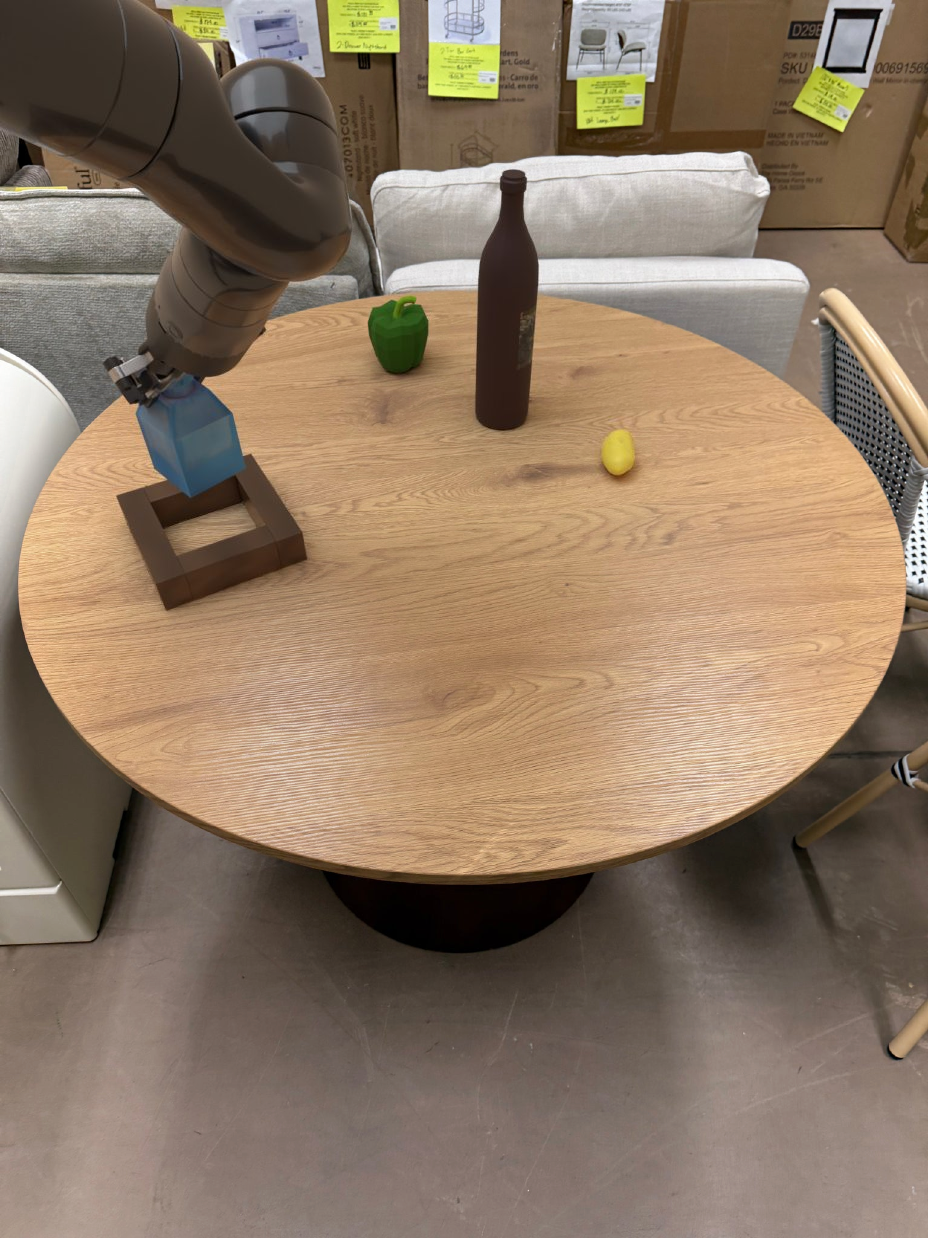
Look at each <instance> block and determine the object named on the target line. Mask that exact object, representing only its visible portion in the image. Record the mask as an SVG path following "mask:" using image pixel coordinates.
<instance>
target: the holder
mask: <svg viewBox="0 0 928 1238" xmlns="http://www.w3.org/2000/svg"><path fill="white" fill-rule="evenodd" d="M243 458H244V462H245V467H246V469H244V470H242V471H240V472H238V473H237V474H235V475H233V476H231V477H229V478H227V479H225V480H223V481H222V482H220V483H218V484H216V485H214V486H212V487H210V488H208V489H207V490H205V491H203V492H201V493H199V494H197V495H195V496H193V497H192V498H190V497H189V496H188V495H186V494H185V493H184V492H183V491H181V490H180V489H179V488H178V487H176V486H175V485H174V484H173V483H171V482H170V481H169V480H168V479H164V480H162V481H159V482H155V483H153V484H149V485H146V486H142V487H139V488H136V489H132V490H129V491H126V492H122V493H120V494H116V495H115V497H116V500H117V502H118V504H119V507H120V510H121V513H122V515H123V518H124V520H125V522H126V525H127V528H128V529H129V532H130V534H131V537H132V538H133V540H134V542H135V545H136V547H137V549H138V551H139V554H140V556H141V558H142V560H143V563H144V565H145V567H146V569H147V571H148V574H149V576H150V578H151V580H152V583H153V585H154V588H155V590H156V592H157V594H158V597H159V598H160V601H161V603H162V605H163V608H164V610H165V611H168V610H171V609H174V608H177V607H180V606H183V605H185V604H188V603H190V602H193V601H195V600H199V599H201V598H205V597H207V596H209V595H212V594H216V593H218V592H220V591H224V590H226V589H229V588H231V587H233V586H237V585H239V584H242V583H246V582H247V581H250V580H253V579H256V578H259V577H261V576H264V575H267V574H269V573H272V572H275V571H277V570H281V569H283V568H286V567H289V566H291V565H294V564H297V563H300V562H302V561H305V560H308V555H307V554H308V553H307V549H306V544H305V539H304V538H305V537H304V533H303V531H302V529H301V527H300V526H299V525H298V523H297V521H296V520H295V518H294V516H293V515H292V514H291V512H290V511H289V509H288V507H287V506H286V505H285V503H284V501H283V500H282V498H281V497H280V496H279V494H278V492H277V491H276V489H275V488H274V486H273V485H272V483H271V482H270V480H269V479H268V477H267V475H266V474H265V472H264V470H262V467H261V466H260V465H259V463H258V462H257V460H256V458H255V457H254V455H253V454H252V453H248V454H245V455H243ZM239 503H242V504H243V506H244V508H245V509H246V512H247V513H248V514H249V516H250V518H251V520H252V521H253V522H254V524H255V526H256V528H253V529H250V530H247V531H244V532H241V533H238V534H236V535H232V536H230V537H226V538H224V539H221V540H218V541H216V542H212V543H209V544H206V545H204V546H201V547H198V548H195V549H192V550H189V551H186V552H183V553H180V554H178V555H176V553H175V551H174V548H173V547H172V544H171V541H170V540H169V538H168V536H167V534H166V532H165V530H164V528H166V527H170V526H172V525H176V524H178V523H181V522H185V521H188V520H191V519H194V518H196V517H200V516H203V515H206V514H208V513H212V512H215V511H219V510H221V509H225V508H227V507H230V506H233V505H236V504H239Z"/></svg>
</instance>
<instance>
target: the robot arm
mask: <svg viewBox="0 0 928 1238" xmlns="http://www.w3.org/2000/svg"><path fill="white" fill-rule="evenodd" d="M0 130H2V131H4V132H7V133H9V134H10V135H13V136H15V137H17V138H20V139H22V140H24V141H25V142H27V143H30V144H33V145H34V146H36V147H39V148H41V149H42V150H45V151H48V152H49V153H51V154H54V155H57V156H58V157H59V156H60V157H62V158H64V159H66V160H68V161H71V162H73V163H76V164H77V165H81V166H82V167H85V168H87V169H90V170H92V171H94V172H97V173H99V174H102V175H105V176H106V177H109V178H111V179H113V180H116V181H118V182H121V183H124V184H126V185H128V186H130V187H133V188H134V189H135V190H137V191H138V192H140V193H141V194H142V195H143V196H145V198H147V199H149V201H150V202H151V203H152V204H154V205H155V206H156V207H157V208H159V209H160V210H161V211H162V212H163V213H165V214H166V215H167V216H169V217H170V218H171V219H173V220H174V221H175V222H177V224H179V225H180V226H182V227H181V229H180V232H179V235H178V237H177V240H176V243H175V245H174V247H173V248H172V249H171V251H170V252H169V253H168V254H167V256H166V258H165V260H164V262H163V265H162V267H161V270H160V271H159V275H158V277H157V280H156V283H155V286H154V288H153V291H152V293H151V296H150V298H149V301H148V304H147V307H146V310H145V311H146V312H145V330H146V331H145V332H146V339H145V340H144V341H143V342H142V343H141V344H140V345H139V346H138V348H137V356H135V357H133V358H131V359H129V360H127V359H126V358H125V357H124V356H122V357H120V358H119V357H118V356H117V355H116V356H109V357H107V358H106V359H105V360H104V361H103V362H102V365H103V367H104V369H105V370H106V372H107V374H108V375H109V377H110V378H111V380H112V381H113V383H114V384H115V386H116V388H117V389H118V391H119V392H120V394H121V395H122V397H124V399H125V400H126V401H127V403H128V405H137V404H138V406H139V405H140V406H141V405H144V406H145V407H146V408H149V407H151V406H152V405H153V404H154V403H155V402H156V401H157V400H158V398H159V396H160V394H161V392H162V391H165V390H168V389H171V388H173V387H175V386H176V385H177V384H178V383H179V382H180V381H181V380H182V379H183V378H184V377H187V376H189V375H192V376H194V377H193V379H195V380H196V381H198V382H199V383H201V384H202V385H203V382H204V381H205V379H206V378H215V377H218V376H221V375H224V374H226V373H228V372H230V371H231V370H233V369H234V368H235V367H236V366H237V365H238V364H239V363H240V362H241V360H242V359H243V358H244V356H245V355H246V354H247V352H248V351H249V349H250V348H251V346H252V345H253V343H255V342H256V341H257V340H258V339H260V337H261V336H262V335H264V334H265V332H266V331H267V328H266V327H265V326H266V324H267V323H268V319H269V318H270V316H271V313H272V310H273V309H274V307H275V305H276V304H277V302H278V301H279V300H280V298H281V296H282V295H283V294H284V292H285V290H286V289H287V288H288V286H289V284H290V283H298V282H305V281H311V280H314V279H317V278H319V277H321V276H324V275H326V274H328V273H329V272H331V271H332V270H333V269H334V268H336V266H338V265H339V264H340V263H341V262H342V260H343V259H344V257H345V255H346V254H347V251H348V250H349V248H350V245H351V240H352V234H353V217H352V216H353V215H352V208H351V202H350V197H349V191H348V185H347V177H346V173H345V166H344V159H343V154H342V148H341V141H340V136H339V129H338V124H337V119H336V115H335V111H334V108H333V105H332V103H331V101H330V98H329V96H328V94H327V93H326V90H325V89H324V87H323V86H322V85H321V83H320V82H319V81H318V80H317V79H316V77H314V76H313V75H312V74H311V73H310V72H309V71H308V70H306V69H305V68H304V67H302V66H300V65H298V64H296V63H295V62H292V61H290V60H286V59H282V58H276V57H259V58H253V59H251V60H248V61H247V60H246V61H245V62H242V63H240V64H238V65H237V66H235V67H233V68H232V69H230V70H229V71H227V72H226V73H225V74H224V75H222V77H221V78H220V77H219V75H218V73H217V70H216V68H215V66H214V65H213V62H212V61H211V58H210V57H209V55H208V54H207V52H206V51H205V50H204V49H203V47H201V45H200V44H199V43H198V42H197V41H196V40H195V39H194V38H193V37H192V36H191V35H189V34H188V33H186V31H184V30H183V29H182V28H180V27H178V26H177V25H176V24H175V23H173V22H172V21H171V20H169V19H167V18H166V17H164V16H162V15H161V14H160V13H158V12H156V11H155V10H153V9H152V8H150V7H149V6H147V5H146V4H144V3H142V2H141V1H139V0H0Z"/></svg>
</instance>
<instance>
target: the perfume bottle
mask: <svg viewBox="0 0 928 1238" xmlns="http://www.w3.org/2000/svg"><path fill="white" fill-rule="evenodd" d="M193 377H194V376H192V375H189V376H187V377H184V378H183V379H182V380H181V381H180V382H179V383H178V384H177V385H176V386H175V387H173V388H171V389H168V390H165V391H162V392H161V394H160V396H159V398H158V400H157V401H156V402H155V403H154V404H153V405H152V406H151V407H149V408H146V407H145V406H144V405H141V406H140V405H139V404H138V407H137V409H136V411H135V417H136V419H137V422H138V426H139V428H140V431H141V434H142V437H143V440H144V443H145V446H146V449H147V451H148V455H149V458H150V461H151V463H152V466H153V469H154V470H155V471H156V472H157V473H159V474H160V475H161V476H162V477H163V478H165V480H169V481H170V482H171V483H173V484H174V485H175V486H176V487H178V488H179V489H180V490H181V491H183V492H184V493H185V494H186V495H188V496H189V497H190V498H192V497H193V496H195V495H197V494H199V493H201V492H203V491H205V490H207V489H208V488H210V487H212V486H214V485H216V484H218V483H220V482H222V481H223V480H225V479H227V478H229V477H231V476H233V475H235V474H237V473H238V472H240V471H242V470H244V469H246V467H245V462H244V458H243V456H244V454H243V450H242V446H241V443H240V436H239V432H238V430H237V429H238V428H237V425H236V421H235V417H234V413H233V412H232V411H231V410H230V409H229V408H228V407H227V405H226V404H225V403H224V402H222V401H221V399H220V398H218V396H217V395H216V394H215V393H214V392H213V391H212V390H211V389H210V388H209V387H207V386H206V385H204V384H203V383H202V384H201V383H199V382H198V381H196V380H195V379H193Z"/></svg>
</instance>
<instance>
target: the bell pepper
mask: <svg viewBox="0 0 928 1238" xmlns="http://www.w3.org/2000/svg"><path fill="white" fill-rule="evenodd" d="M416 303H417V296H414V295H406V296H401V297H400V298H399V299H398V300H397V301H396V300H394V299H390V300H389V301H386V302H385V303H383V304H382V305H380V306H373V307H372V308H371V311H370V314H369V317H368V320H367V330H368V336H369V340H370V343H371V346H372V349H373V351H374V355H375V356H376V358H377V360H378V362H379V364H380V365H381V366H382V368H383V369H384V370H385V371H386V372H387V371H388V372H389V373H394V374H395V373H399V374H403V373H405V372H407V371H409V370H410V369H411V368H415V367H417V366H419V365H420V364H421V363H422V361H423V360H424V356H425V351H426V346H427V342H428V337H429V319H428V316H427V315H426V312H425V310H424V308H423V306H422V304H418V303H417V304H416ZM406 304H408V305H406Z"/></svg>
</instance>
